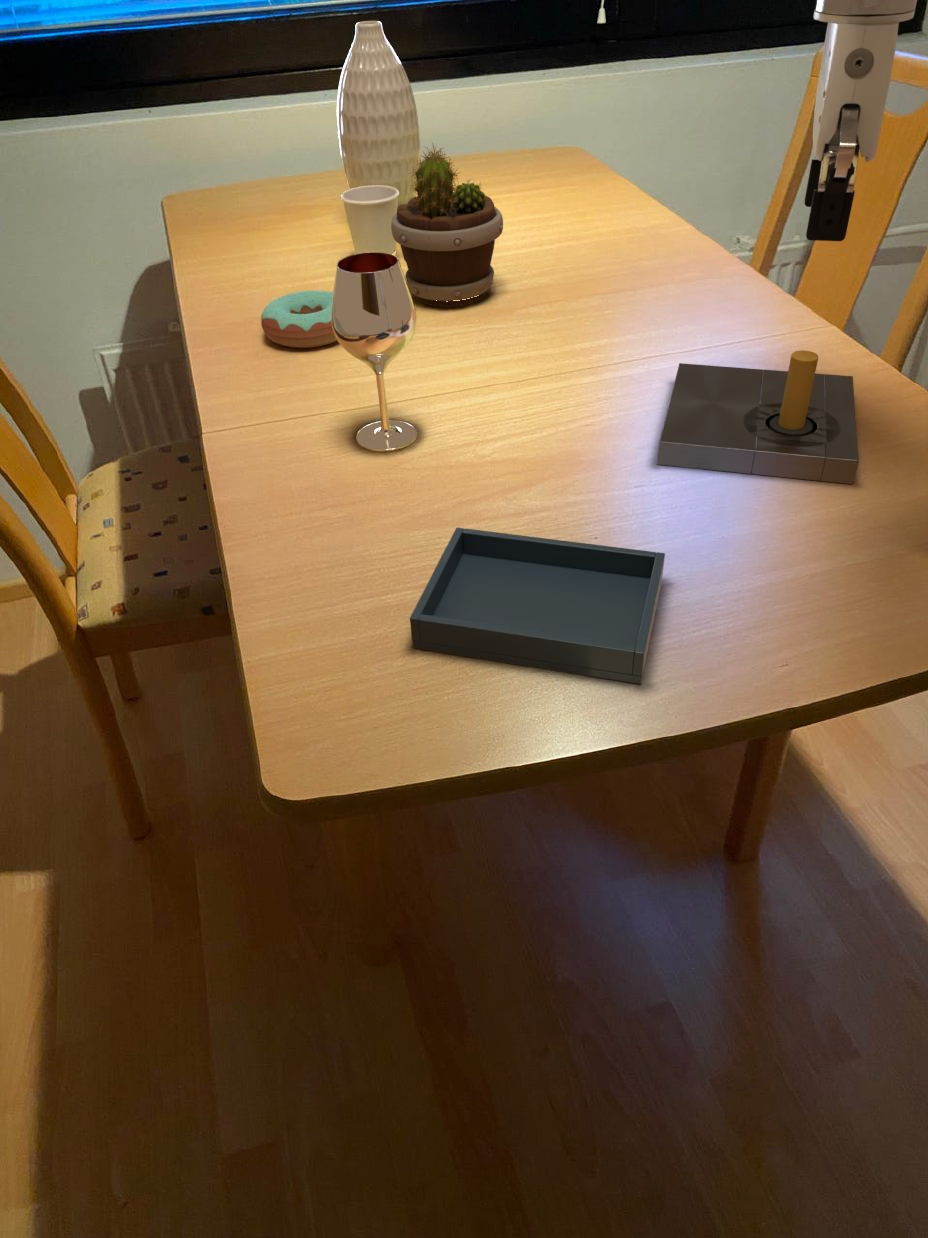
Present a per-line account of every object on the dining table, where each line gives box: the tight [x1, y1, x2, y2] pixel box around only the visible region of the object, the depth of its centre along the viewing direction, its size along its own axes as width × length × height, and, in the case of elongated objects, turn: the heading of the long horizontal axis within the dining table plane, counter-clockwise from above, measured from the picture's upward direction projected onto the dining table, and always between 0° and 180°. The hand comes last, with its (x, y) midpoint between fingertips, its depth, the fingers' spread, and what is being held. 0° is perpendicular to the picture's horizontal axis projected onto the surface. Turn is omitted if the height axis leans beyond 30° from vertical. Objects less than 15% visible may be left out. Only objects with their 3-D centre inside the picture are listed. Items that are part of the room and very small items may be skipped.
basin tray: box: [409, 527, 666, 685], centre depth 73 cm, size 17×12×3 cm
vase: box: [336, 20, 421, 207], centre depth 145 cm, size 13×13×28 cm
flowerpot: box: [391, 141, 504, 308], centre depth 121 cm, size 14×15×20 cm
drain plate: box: [656, 362, 860, 485], centre depth 94 cm, size 18×18×2 cm
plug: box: [769, 349, 819, 437], centre depth 89 cm, size 4×4×10 cm
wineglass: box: [331, 252, 418, 453], centre depth 91 cm, size 8×8×18 cm
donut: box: [260, 290, 338, 349], centre depth 118 cm, size 12×12×4 cm
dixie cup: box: [340, 185, 399, 254], centre depth 135 cm, size 8×8×10 cm
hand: (823, 222), depth 84 cm, fingers open, 9 cm apart
